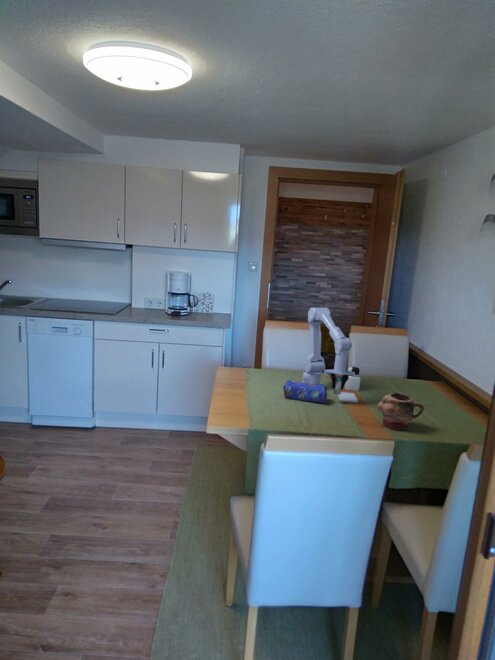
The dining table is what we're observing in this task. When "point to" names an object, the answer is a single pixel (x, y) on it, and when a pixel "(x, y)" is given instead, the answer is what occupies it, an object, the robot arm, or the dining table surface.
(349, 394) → the note pad
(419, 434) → the dining table surface
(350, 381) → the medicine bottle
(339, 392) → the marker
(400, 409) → the brown sculpted mug
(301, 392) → the pencil case
